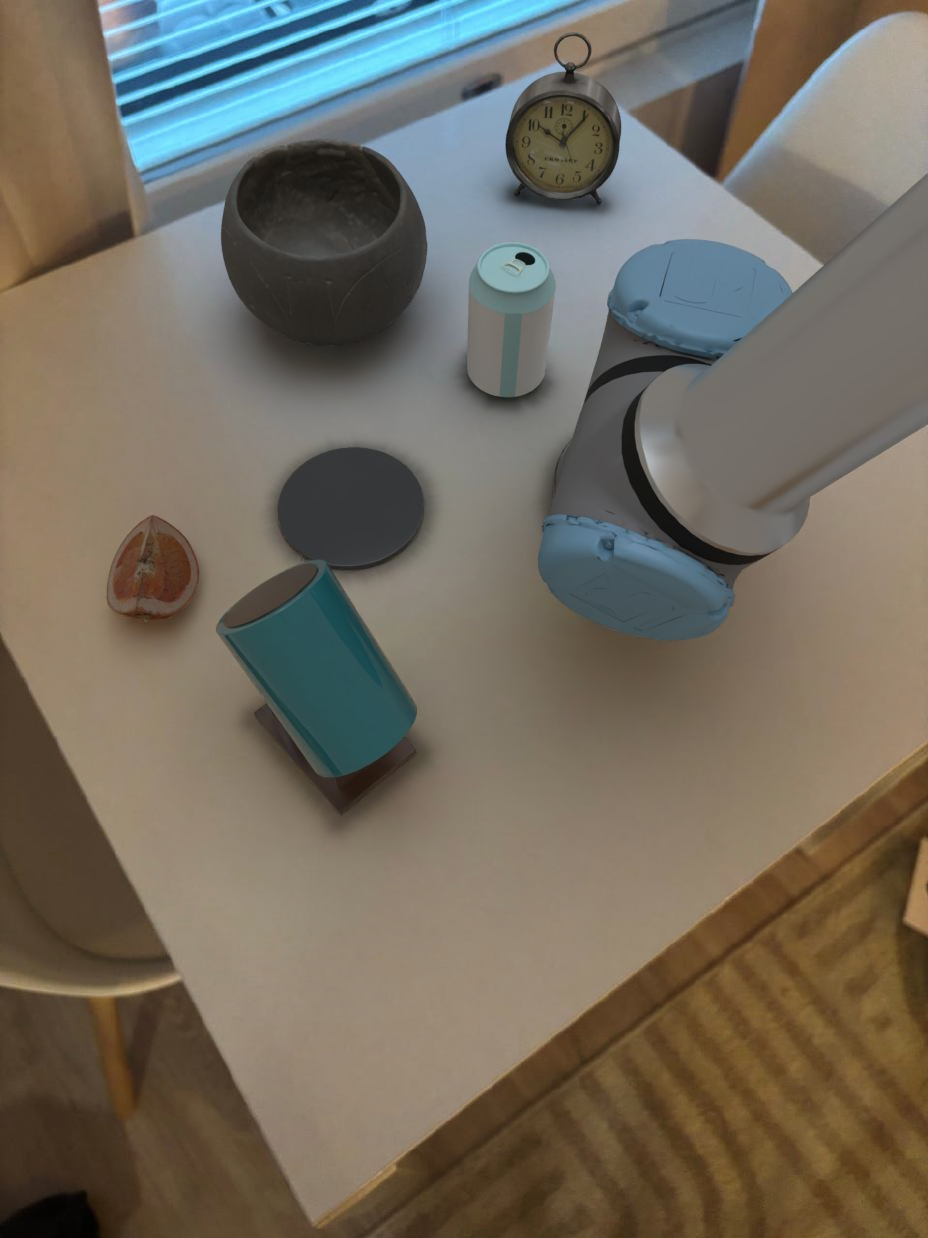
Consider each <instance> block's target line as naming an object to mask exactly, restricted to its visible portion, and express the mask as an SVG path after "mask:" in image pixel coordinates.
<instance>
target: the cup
mask: <svg viewBox="0 0 928 1238" xmlns="http://www.w3.org/2000/svg"><path fill="white" fill-rule="evenodd" d="M215 631H216V634H217V635H218V637H219V638H220V639H221V641H222V642H223V644H224V645H225V646H226V648H227V650H228V651H229V652H230V653H231V655H232V656H233V658H234V659H235V660H236V663H238V665H239V666H240V668H241V669H242V671H243V672H244V673H245V675H246V676H247V678H248V680H249V681H250V682H251V683H252V685H253V686H254V687H255V689H256V691H257V692H258V693H259V695H260V696H261V697H262V699H263V700H264V701H265V704H266V703H267V704H268V706H269V707H270V709H271V710H272V711H273V713H274V714H275V716H276V717H277V719H278V720H279V721H280V723H281V724H282V726H283V727H284V728H285V730H286V731H287V733H288V734H289V736H290V737H291V738H292V740H293V741H294V743H295V744H296V745H297V747H298V748H299V750H300V751H301V753H302V754H303V755H304V757H305V758H306V760H307V761H308V762H309V764H310V765H311V767H312V768H313V769H314V771H315V772H316V773H317V774H319V775H320V776H323V777H338V776H343V775H347V774H350V773H352V772H355V771H357V770H360V769H362V768H364V767H366V766H368V765H369V764H371V763H373V762H374V761H376V760H378V759H379V758H380V757H382V756H383V755H385V754H386V753H387V752H389V751H390V750H391V749H392V748H393V747H394V746H396V745H397V744H398V743H399V742H400V741H401V740H402V738H403V737H404V736H405V737H406V735H407V734H408V733H409V731H410V730H411V729H412V727H413V725H414V723H415V721H416V720H417V715H418V706H417V703H416V701H415V700H414V698H413V696H412V695H411V693H410V692H409V690H408V688H407V687H406V685H405V684H404V683H403V680H402V679H401V677H400V675H398V673H397V671H396V669H395V667H394V666H393V665H392V663H391V662H390V660H389V658H388V657H387V655H386V654H385V652H384V651H383V650H382V647H381V646H380V644H379V643H378V641H377V639H376V638H375V636H374V635H373V634H372V632H371V629H370V628H369V627H368V626H367V624H366V622H365V620H364V619H363V617H362V616H361V614H360V613H359V611H358V610H357V608H356V606H355V605H354V603H353V601H352V600H351V598H350V596H349V595H348V594H347V592H346V590H345V589H344V587H343V586H342V584H341V583H340V581H339V579H338V578H337V576H336V575H335V573H334V572H333V570H332V568H330V567H329V565H328V564H327V562H326V561H324V560H320V559H318V560H311V561H309V560H307V561H303V562H301V563H299V564H296V565H293V566H291V567H289V568H286V569H285V570H283V571H281V572H279V573H277V574H275V575H273V576H272V577H270V578H268V579H267V580H264V581H263V582H262V583H260V584H258V586H255V587H254V588H253V589H251V590H250V591H249V592H247V593H246V594H245V595H243V596H242V597H241V598H240V599H239V600H237V601H236V602H235V603H234V604H233V605H232V606H230V607H229V609H228V610H227V611H226V612H224V613H223V615H222V616H221V617H220V619H219V621H218V622H217V624H216V626H215Z"/></svg>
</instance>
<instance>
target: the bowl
mask: <svg viewBox="0 0 928 1238" xmlns="http://www.w3.org/2000/svg"><path fill="white" fill-rule="evenodd" d="M220 246H221V254H222V258H223V259H222V260H223V263H224V267H225V270H226V273H227V276H228V278H229V281H230V284H231V285H232V286H231V287H233V289H234V292H235V293H236V295H237V297H238V298H239V299H240V300H241V302H242V304H243V305H244V306H245V308H246V309H247V310H248V311H249V312H250V313H251V314H252V315H253V316H254V317H255V318H256V319H257V320H259V321H260V322H261V323H262V324H264V325H265V326H266V327H268V328H269V329H271V330H272V331H273V332H276V333H277V334H278V335H281V336H283V337H285V338H287V339H290V340H293V341H295V342H299V343H302V344H307V345H312V346H318V347H338V346H345V345H351V344H354V343H359V342H361V341H363V340H366V339H368V338H371V337H373V336H374V335H376V334H379V333H380V332H381V331H383V330H384V329H386V328H387V327H389V326H390V325H391V324H392V323H394V322H395V320H397V318H399V316H400V315H401V314H402V313H403V312H404V311H405V310H406V309H407V307H408V306H409V305H410V304H411V303H412V301H413V299H414V297H415V295H416V294H417V292H418V290H419V289H420V286H421V283H422V280H423V277H424V273H425V269H426V263H427V256H428V239H427V228H426V222H425V219H424V215H423V213H422V210H421V207H420V205H419V202H418V200H417V198H416V195H415V194H414V192H413V190H412V188H411V187H410V186H409V184H408V182H407V181H406V179H405V178H404V176H403V175H402V174H401V172H400V171H399V170H398V169H397V167H396V166H395V165H394V163H392V162H391V161H390V160H389V159H388V158H387V157H386V156H384V155H383V154H381V153H379V152H378V151H376V150H374V149H373V148H370V147H367V146H365V145H364V146H362V145H360V144H359V143H355V142H350V141H345V140H338V139H334V138H316V139H308V140H299V141H294V142H291V143H289V144H286V145H284V144H281V145H278V146H273V147H270V148H267V149H266V150H264V151H261V152H260V153H259V154H258V155H256V156H254V157H252V158H251V159H249V160H247V162H246V163H245V164H244V165H243V166H242V167H241V168H240V170H239V171H238V172H237V174H236V175H235V177H234V178H233V180H232V182H231V184H230V187H229V189H228V191H227V194H226V197H225V201H224V206H223V212H222V218H221V226H220Z"/></svg>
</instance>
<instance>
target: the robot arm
mask: <svg viewBox="0 0 928 1238" xmlns="http://www.w3.org/2000/svg"><path fill="white" fill-rule="evenodd" d="M613 283H614V284H613V287H612V289H611V290H610V292H609V293H608V297H607V301H606V306H607V308H608V312H607V316H606V321H605V326H604V329H603V330H604V331H603V335H602V339H601V343H600V347H599V351H598V353H597V357H596V361H595V364H594V367H593V371H592V374H591V377H590V380H589V384H588V386H587V390H586V393H585V397H584V400H583V404H582V407H581V410H580V412H579V414H578V418H577V421H576V425H575V428H574V431H573V434H572V437H571V439H569V441H568V442H567V443H566V444H565V446H564V448H563V449H562V451H561V453H560V455H559V457H558V459H557V462H556V467H555V470H554V477H553V483H552V502H551V505H550V509H549V512H548V514H547V516H546V517H545V518H544V520H543V522H542V525H541V531H542V538H541V541H540V545H539V549H538V553H537V568H538V572H539V573H538V574H539V575H540V578H541V579H542V581H543V582H544V583H545V584H546V587H547V588H548V590H549V592H550V593H551V594H552V595H553V597H555V598H556V599H557V601H559V602H560V603H561V604H562V605H564V606H565V607H566V608H568V609H569V610H571V611H572V612H574V613H575V614H577V615H578V616H580V617H582V618H584V619H586V620H588V621H590V622H592V623H594V624H595V625H598V626H601V627H604V628H606V629H608V630H611V631H614V632H618V633H620V634H624V635H628V636H632V637H637V638H644V639H648V640H654V641H666V642H668V641H669V642H677V641H678V642H679V641H689V640H691V641H692V640H695V639H699V638H702V637H706V636H708V635H711V634H713V633H715V632H716V631H718V629H720V627H722V626H723V624H724V623H725V621H726V620H727V618H728V616H729V613H730V612H729V611H730V609H731V608H732V607H733V606H734V605H735V600H736V593H735V591H734V587H735V583H736V580H737V578H738V577H739V575H740V574H741V573H742V572H743V571H744V570H745V569H747V568H749V567H750V566H752V565H754V564H756V563H758V562H759V561H761V560H762V559H764V558H766V557H768V556H769V555H771V554H773V553H775V552H776V551H778V550H780V549H781V548H783V547H784V546H785V545H787V544H788V543H790V542H791V541H792V540H793V539H794V538H795V537H796V536H797V535H798V534H799V532H800V531H801V529H802V528H803V526H804V525H805V522H806V519H807V517H808V514H809V510H810V505H811V504H810V503H811V497H813V496H814V495H816V494H818V493H819V492H821V491H822V490H824V489H826V488H827V487H829V486H830V485H832V484H835V482H837V481H839V480H841V479H842V478H844V477H845V476H847V475H848V474H850V473H851V472H853V471H855V470H857V469H858V468H860V467H861V466H863V465H865V464H866V463H868V462H869V461H871V460H873V459H874V458H876V457H877V456H879V455H881V454H883V453H885V452H886V451H887V450H889V449H891V448H892V447H895V446H896V445H897V444H899V443H901V442H902V441H904V440H905V439H907V438H909V437H910V436H912V435H913V434H915V433H916V432H918V431H920V430H922V429H923V428H925V427H926V426H928V172H926V173H925V174H924V175H923V176H922V177H921V178H920V179H919V180H917V181H916V182H915V183H914V184H913V185H911V187H909V189H907V190H906V191H905V192H904V193H903V194H902V195H901V196H899V197H898V198H897V199H896V200H895V201H894V202H893V203H892V204H891V205H890V206H888V207H887V208H886V209H885V210H884V211H883V212H882V213H880V214H879V215H878V216H877V217H876V218H874V220H873V221H872V222H871V223H869V224H868V225H867V226H866V227H865V228H864V229H863V230H862V231H860V232H859V233H858V234H857V235H856V236H854V238H852V239H851V240H850V241H849V242H848V243H847V244H845V246H843V247H842V248H841V249H840V250H839V251H838V252H837V253H836V254H834V255H833V256H832V257H831V258H830V259H829V260H828V261H827V262H825V263H824V265H822V266H821V267H819V269H818V270H817V271H816V272H815V273H813V274H812V275H811V276H810V277H809V278H808V279H806V281H804V283H802V284H801V285H800V286H799V287H798V288H796V289H795V290H794V291H793V290H792V288H791V286H790V284H789V283H788V281H787V280H786V279H785V278H784V276H783V275H782V274H781V273H780V272H779V271H778V270H777V269H775V268H773V267H771V266H770V265H768V264H767V263H766V261H765V259H762V258H761V257H760V256H757V255H755V254H754V253H751V252H750V251H747V250H745V249H742V248H741V247H738V246H734V245H731V244H727V243H723V242H720V241H714V240H707V239H697V238H694V239H693V238H692V239H691V238H684V239H683V238H681V239H673V240H667V241H666V242H664V243H658V244H652V245H649V246H647V247H644V248H642V249H640V250H639V251H637V252H636V253H634V254H632V255H631V256H630V257H629V258H628V259H626V261H625V262H624V263H623V264H622V265H621V266H620V268H619V270H618V272H617V274H616V277H615V280H614V282H613Z"/></svg>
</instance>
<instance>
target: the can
mask: <svg viewBox="0 0 928 1238" xmlns="http://www.w3.org/2000/svg"><path fill="white" fill-rule="evenodd" d="M556 287H557V283H556V277H555V275H554V273H553V271H552V269H551V266H550V261H549V260H548V258H547V256H546V255H545V253H543V252H542V251H541V250H540V249H539V248H536V246H535V247H534V246H532V245H531V244H528V243H523V242H519V241H507V242H500V243H497V244H494V245H492V246H490V247H488V248H487V249H486V250H484V251H483V252H482V253H481V255H480V256H479V258H478V259H477V263H476V265H475V266H474V267H473V269H472V270H471V272H470V274H469V278H468V304H467V305H468V307H467V308H468V309H467V310H468V311H467V352H466V355H467V356H466V357H467V358H466V369H467V370H466V371H467V374H468V377H469V379H470V381H471V382H472V383H473V385H475V386H476V387H477V388H478V389H479V390H481V391H482V392H484V393H486V394H489V395H491V396H495V397H500V398H515V397H521V396H524V395H527V394H529V393H530V392H533V391H534V390H535V389H536V388H538V387H539V386H540V385H541V383H542V382H543V380H544V378H545V374H546V370H547V369H546V368H547V362H548V361H547V360H548V353H549V346H550V345H549V343H550V336H551V329H552V322H553V321H552V320H553V312H554V305H555V304H554V303H555V295H556Z"/></svg>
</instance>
